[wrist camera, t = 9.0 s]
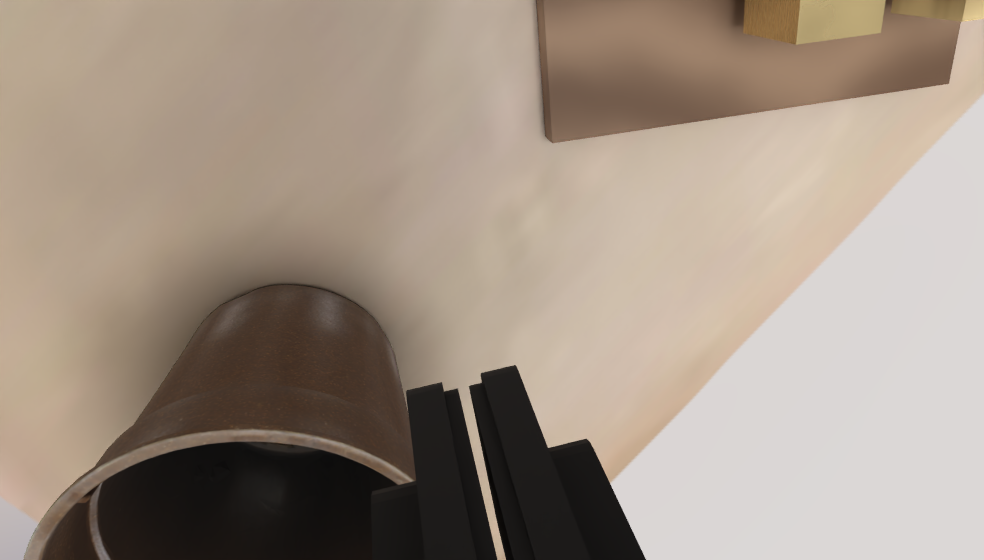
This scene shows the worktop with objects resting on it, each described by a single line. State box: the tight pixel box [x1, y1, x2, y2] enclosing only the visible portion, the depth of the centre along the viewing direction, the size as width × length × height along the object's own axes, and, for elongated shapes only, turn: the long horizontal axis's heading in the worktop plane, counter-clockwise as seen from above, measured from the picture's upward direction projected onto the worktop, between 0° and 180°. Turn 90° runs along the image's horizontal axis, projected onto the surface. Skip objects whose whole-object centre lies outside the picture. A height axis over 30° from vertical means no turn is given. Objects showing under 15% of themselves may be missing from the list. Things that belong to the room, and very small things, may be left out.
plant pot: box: [24, 285, 416, 560], centre depth 34 cm, size 16×16×16 cm
